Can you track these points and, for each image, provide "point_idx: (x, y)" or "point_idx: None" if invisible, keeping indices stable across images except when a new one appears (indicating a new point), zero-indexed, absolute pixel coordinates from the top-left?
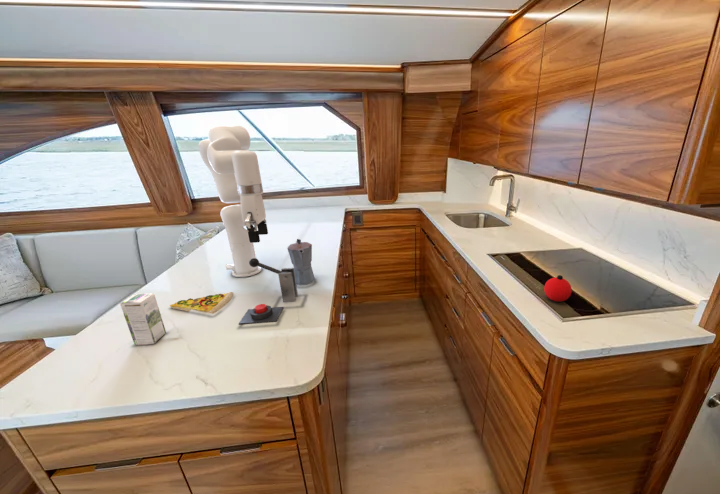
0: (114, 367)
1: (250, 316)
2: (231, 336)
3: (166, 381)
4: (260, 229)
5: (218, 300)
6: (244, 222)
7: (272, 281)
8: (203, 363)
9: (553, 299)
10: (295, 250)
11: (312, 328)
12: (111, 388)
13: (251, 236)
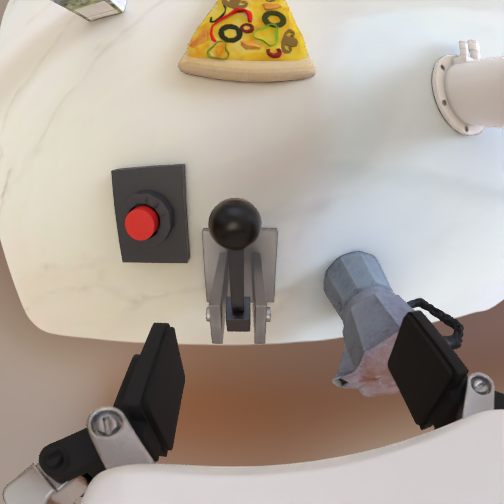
0: (45, 19)
1: (140, 188)
2: (88, 166)
3: (5, 130)
4: (419, 359)
5: (243, 53)
6: (86, 496)
7: (392, 178)
8: (28, 160)
9: None
10: (358, 363)
11: (122, 325)
12: (8, 63)
13: (127, 384)
